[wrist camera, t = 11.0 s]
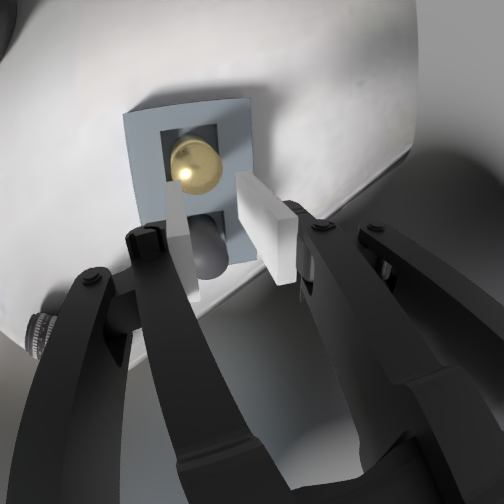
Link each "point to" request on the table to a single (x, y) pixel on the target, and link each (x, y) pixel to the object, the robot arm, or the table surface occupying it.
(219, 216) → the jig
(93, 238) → the table surface
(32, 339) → the camera
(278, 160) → the table surface
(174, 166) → the brass cylinder
